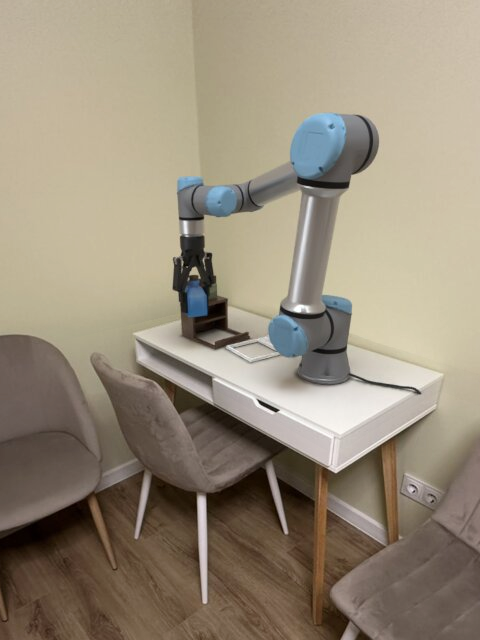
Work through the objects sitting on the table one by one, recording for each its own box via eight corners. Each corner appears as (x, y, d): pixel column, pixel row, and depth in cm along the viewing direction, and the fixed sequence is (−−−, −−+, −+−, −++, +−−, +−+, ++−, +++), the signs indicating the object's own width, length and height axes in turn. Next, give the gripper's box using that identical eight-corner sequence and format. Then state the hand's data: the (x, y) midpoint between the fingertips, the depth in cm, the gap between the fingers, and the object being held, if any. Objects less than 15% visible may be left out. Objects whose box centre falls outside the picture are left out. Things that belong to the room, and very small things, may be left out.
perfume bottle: (183, 312, 156) (181, 274, 150) (201, 309, 158) (200, 273, 151) (188, 317, 151) (186, 279, 145) (207, 315, 153) (206, 277, 146)
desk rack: (249, 338, 169) (250, 284, 159) (215, 349, 160) (214, 293, 150) (215, 325, 181) (214, 275, 172) (181, 335, 172) (178, 282, 163)
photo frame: (295, 347, 157) (250, 358, 149) (294, 350, 158) (250, 362, 150) (269, 335, 168) (226, 345, 160) (269, 338, 168) (226, 348, 161)
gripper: (210, 229, 150) (212, 301, 162) (156, 237, 138) (162, 313, 150) (226, 232, 145) (226, 306, 157) (171, 240, 134) (176, 319, 145)
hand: (195, 309), depth 153 cm, fingers closed on perfume bottle, 8 cm apart
